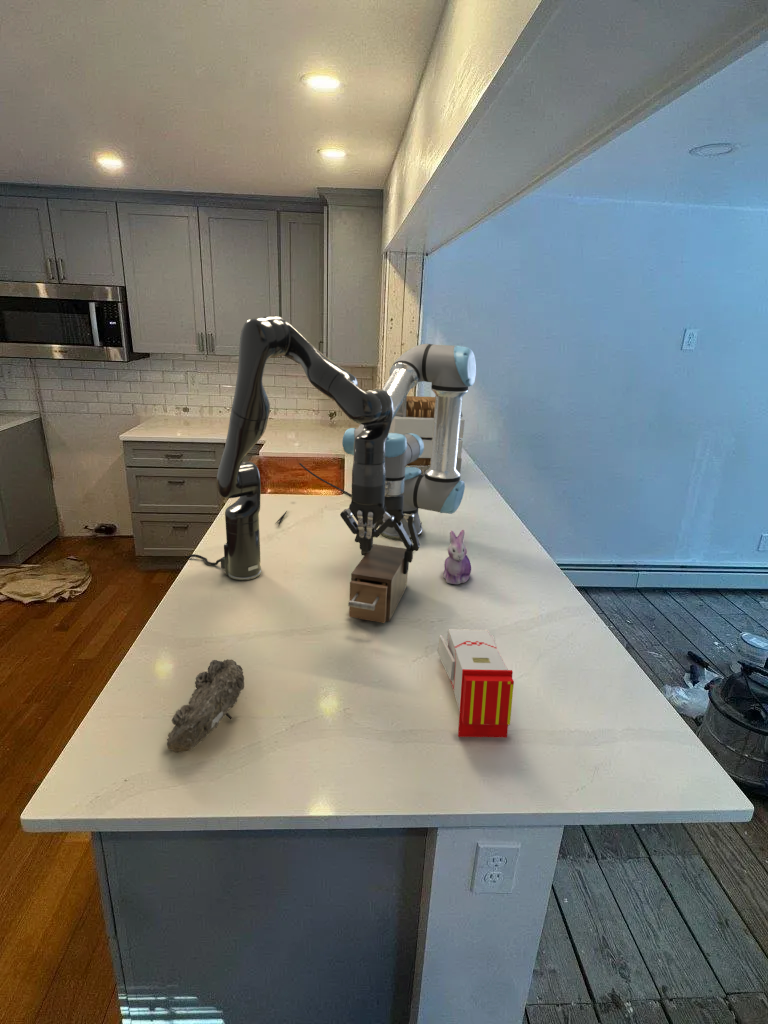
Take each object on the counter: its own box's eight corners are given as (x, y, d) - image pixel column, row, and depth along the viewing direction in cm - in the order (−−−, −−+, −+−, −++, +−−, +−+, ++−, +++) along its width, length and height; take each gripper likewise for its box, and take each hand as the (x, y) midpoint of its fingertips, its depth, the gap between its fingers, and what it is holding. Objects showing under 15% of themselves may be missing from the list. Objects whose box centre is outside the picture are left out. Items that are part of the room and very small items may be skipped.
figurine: (453, 588, 162) (457, 540, 157) (434, 573, 170) (437, 527, 165) (479, 582, 166) (485, 535, 161) (459, 568, 175) (464, 523, 170)
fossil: (192, 660, 117) (244, 628, 112) (224, 691, 120) (276, 661, 115) (142, 746, 98) (202, 712, 93) (182, 779, 101) (242, 748, 96)
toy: (488, 613, 130) (523, 677, 101) (484, 667, 133) (517, 744, 104) (435, 612, 130) (455, 676, 101) (432, 666, 133) (451, 743, 103)
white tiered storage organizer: (382, 463, 289) (386, 382, 275) (445, 464, 293) (451, 384, 279) (390, 482, 257) (394, 392, 243) (460, 483, 261) (468, 394, 247)
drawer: (378, 634, 136) (380, 598, 133) (341, 628, 138) (342, 592, 135) (401, 589, 158) (403, 558, 155) (369, 584, 160) (370, 553, 157)
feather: (294, 505, 227) (296, 501, 226) (277, 528, 200) (280, 524, 199) (290, 503, 226) (292, 499, 226) (273, 526, 200) (276, 521, 199)
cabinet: (389, 621, 144) (391, 579, 140) (350, 614, 146) (351, 573, 142) (406, 586, 162) (409, 549, 158) (371, 581, 164) (373, 543, 160)
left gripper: (335, 481, 125) (334, 553, 131) (393, 488, 122) (389, 561, 128) (345, 473, 132) (344, 541, 138) (401, 479, 129) (397, 549, 135)
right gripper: (343, 491, 148) (342, 568, 156) (430, 502, 143) (424, 581, 151) (352, 484, 155) (350, 557, 163) (435, 494, 150) (429, 569, 158)
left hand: (366, 551), depth 133 cm, fingers closed
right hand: (386, 569), depth 157 cm, fingers closed on cabinet, 10 cm apart
